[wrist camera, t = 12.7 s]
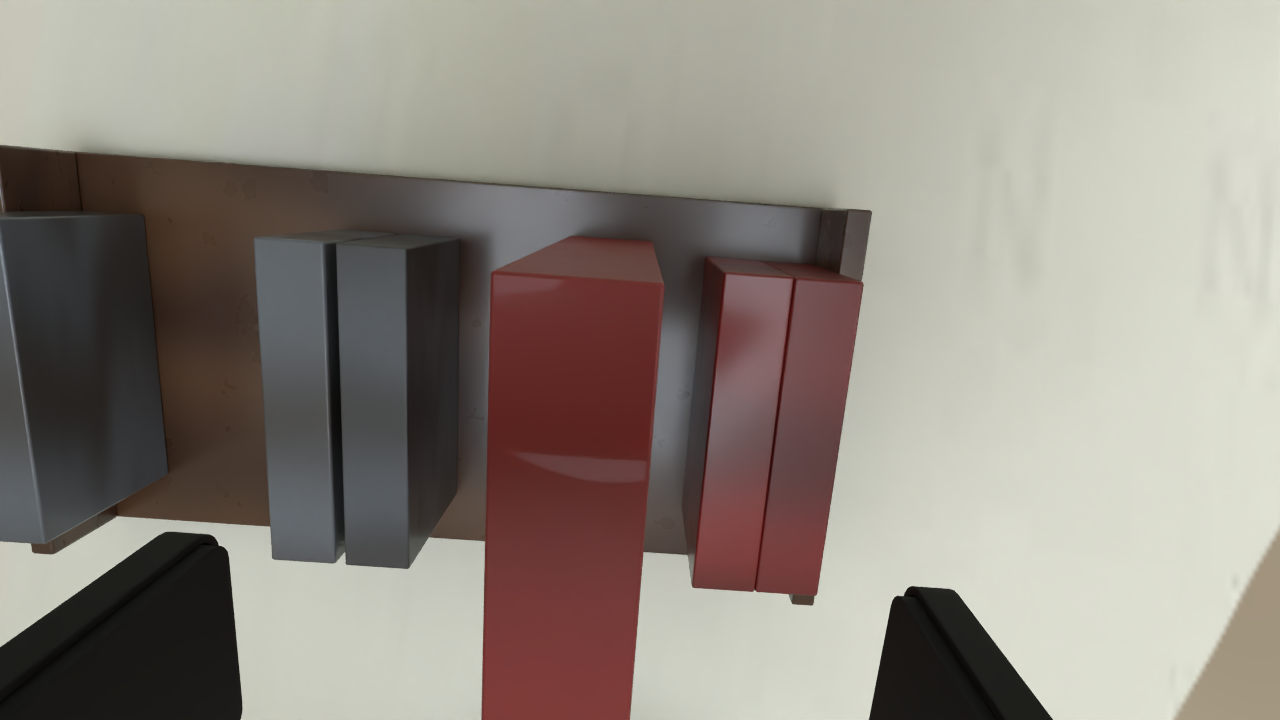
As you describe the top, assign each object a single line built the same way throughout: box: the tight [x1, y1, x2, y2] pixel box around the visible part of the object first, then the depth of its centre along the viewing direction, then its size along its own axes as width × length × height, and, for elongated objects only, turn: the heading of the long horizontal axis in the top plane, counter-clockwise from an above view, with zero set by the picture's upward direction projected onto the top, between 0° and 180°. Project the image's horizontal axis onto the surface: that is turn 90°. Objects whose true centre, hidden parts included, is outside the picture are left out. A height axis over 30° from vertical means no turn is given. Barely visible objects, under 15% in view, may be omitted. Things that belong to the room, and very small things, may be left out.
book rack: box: [0, 145, 872, 605], centre depth 23 cm, size 14×28×7 cm, turn 86°
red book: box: [481, 236, 665, 720], centre depth 19 cm, size 11×3×13 cm, turn 176°
